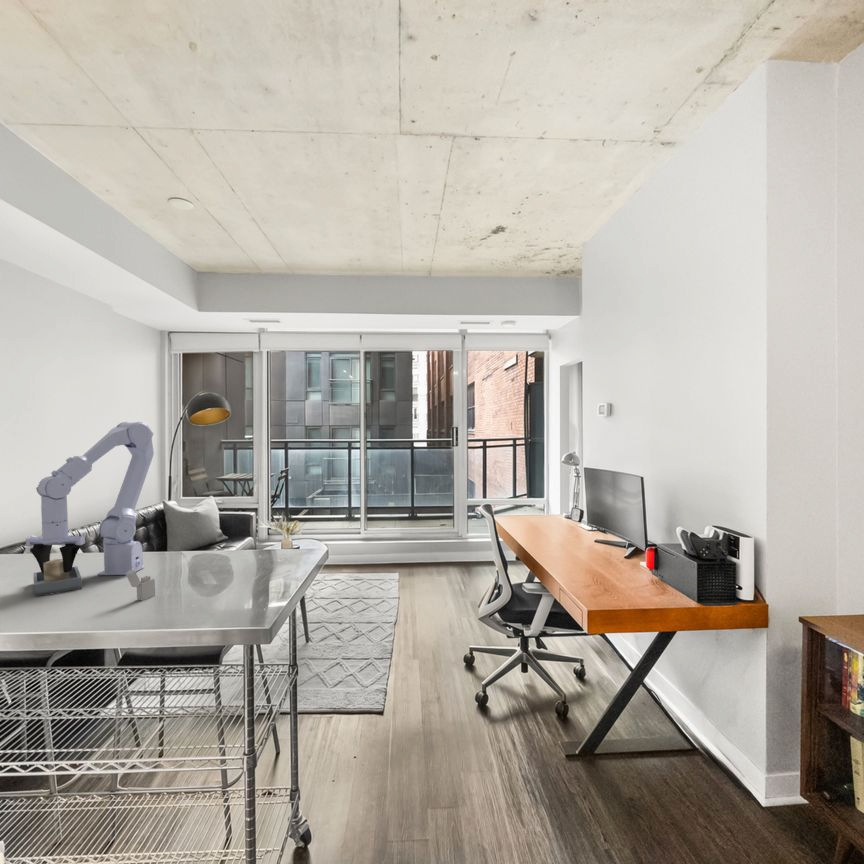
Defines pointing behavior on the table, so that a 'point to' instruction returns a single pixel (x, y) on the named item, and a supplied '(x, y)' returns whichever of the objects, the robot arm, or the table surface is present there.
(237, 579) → the table surface
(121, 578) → the table surface
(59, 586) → the tray
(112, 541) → the robot arm
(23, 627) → the table surface
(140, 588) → the lighter
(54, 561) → the block
